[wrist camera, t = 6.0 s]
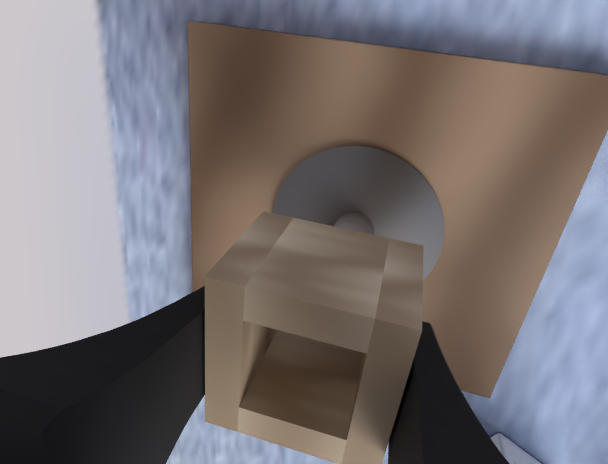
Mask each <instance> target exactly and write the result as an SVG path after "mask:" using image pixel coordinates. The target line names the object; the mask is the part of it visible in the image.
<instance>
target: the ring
mask: <svg viewBox="0 0 608 464" xmlns="http://www.w3.org/2000/svg"><path fill="white" fill-rule="evenodd" d="M422 308H423V245H419V244H414V243H410V242H405V241H400V240H396V239H391V238H386V237H381V236H377V235H372V234H367V233H363V232H358V231H353V230H348V229H344V228H339V227H334V226H330V225H325V224H320V223H316V222H311V221H306V220H301V219H297V218H292V217H287V216H283V215H278V214H273V213H269V212H264V211H263V212H262V213H261V214H260V215H259V217H258V218H257V219H256V220H255V221H254V222H253V223H252V224H251V225H250V227H249V228H248V229H247V230H246V231H245V232H244V233H243V234H242V235H241V237H240V238H239V239H238V240H237V241H236V242H235V243H234V244H233V246H232V247H231V248H230V249H229V250H228V251H227V252H226V253H225V254H224V256H223V257H222V258H221V259H220V260H219V261H218V262H217V263H216V264H215V266H214V267H213V268H212V269H211V270H210V271H209V272H208V273H207V274H206V276H205V422H208V423H212V424H215V425H218V426H221V427H224V428H227V429H231V430H234V431H237V432H240V433H243V434H246V435H249V436H253V437H256V438H259V439H262V440H265V441H268V442H272V443H275V444H278V445H281V446H284V447H287V448H290V449H294V450H297V451H300V452H303V453H306V454H309V455H313V456H316V457H319V458H322V459H325V460H328V461H331V462H335V463H338V464H382V461H383V458H384V454H385V451H386V448H387V444H388V441H389V438H390V435H391V431H392V428H393V425H394V421H395V418H396V415H397V412H398V408H399V405H400V402H401V398H402V395H403V392H404V389H405V385H406V382H407V379H408V375H409V372H410V369H411V366H412V362H413V359H414V356H415V352H416V349H417V346H418V343H419V339H420V336H421V333H422Z"/></svg>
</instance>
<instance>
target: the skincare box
mask: <svg viewBox="0 0 608 464" xmlns="http://www.w3.org/2000/svg"><path fill="white" fill-rule="evenodd" d="M491 440H492V441H493V443H494V444H495V445H496V447H497V448H498V450H499V451H500V452H501V454H502V455H503V456H504V457H505V459H506V460H507V461H508V462H509V463H510V464H541V463H540V462H539V461H537V460H536V459H535V458H533V457H532V456H531V455H529V454H528V453H526V452H525V451H524V450H522V449H521V448H520V447H518V446H517V445H516V444H514V443H513V442H512V441H510V440H509V439H508V438H506V437H505V436H503V435H502V434H500V433H497V434H496V435H494V436H492V437H491Z"/></svg>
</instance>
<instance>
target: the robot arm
mask: <svg viewBox="0 0 608 464" xmlns="http://www.w3.org/2000/svg"><path fill="white" fill-rule="evenodd" d="M204 395H205V286H203V287H201V288H200V289H198V290H196V291H194V292H192V293H191V294H189V295H187V296H185V297H183V298H181V299H180V300H178V301H176V302H174V303H172V304H170V305H168V306H166V307H164V308H162V309H160V310H158V311H156V312H154V313H151V314H149V315H147V316H145V317H143V318H141V319H138V320H136V321H133V322H131V323H128V324H126V325H123V326H121V327H118V328H116V329H113V330H110V331H107V332H104V333H101V334H97V335H94V336H91V337H88V338H85V339H82V340H79V341H75V342H72V343H68V344H64V345H60V346H56V347H52V348H48V349H43V350H39V351H35V352H29V353H24V354H19V355H13V356H7V357H2V358H0V464H166V462H167V460H168V458H169V456H170V454H171V452H172V450H173V448H174V446H175V444H176V442H177V440H178V438H179V436H180V435H181V433H182V431H183V429H184V427H185V425H186V424H187V422H188V420H189V418H190V417H191V415H192V413H193V412H194V410H195V409H196V407H197V406H198V404H199V403H200V401H201V400H202V398H203V397H204ZM388 464H510V463H509V462H508V461H507V460H506V459H505V457H504V456H503V455H502V454H501V452H500V451H499V450H498V448H497V447H496V445H495V444H494V443H493V441H492V440H491V438H490V437H489V436H488V434H487V433H486V431H485V430H484V428H483V427H482V425H481V424H480V422H479V421H478V419H477V417H476V416H475V414H474V412H473V411H472V409H471V408H470V406H469V404H468V402H467V401H466V399H465V397H464V395H463V394H462V392H461V390H460V388H459V386H458V384H457V382H456V380H455V378H454V376H453V374H452V372H451V370H450V368H449V366H448V364H447V362H446V360H445V357H444V355H443V353H442V350H441V348H440V346H439V343H438V341H437V338H436V336H435V333H434V330H433V327H432V326H431V324H430V323H428V322H424V321H422V333H421V336H420V339H419V343H418V346H417V349H416V352H415V356H414V359H413V362H412V366H411V369H410V372H409V375H408V379H407V382H406V385H405V389H404V392H403V395H402V398H401V402H400V405H399V408H398V412H397V415H396V418H395V421H394V425H393V428H392V431H391V435H390V438H389V451H388Z"/></svg>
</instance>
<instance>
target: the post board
mask: <svg viewBox="0 0 608 464" xmlns="http://www.w3.org/2000/svg"><path fill="white" fill-rule="evenodd" d="M188 66H189V117H190V168H191V219H192V270H193V292H194V291H196V290H198V289H200V288H201V287H203V286H205V276H206V274H207V273H208V272H209V271H210V270H211V269H212V268H213V267H214V266H215V264H216V263H217V262H218V261H219V260H220V259H221V258H222V257H223V256H224V254H225V253H226V252H227V251H228V250H229V249H230V248H231V247H232V246H233V244H234V243H235V242H236V241H237V240H238V239H239V238H240V237H241V235H242V234H243V233H244V232H245V231H246V230H247V229H248V228H249V227H250V225H251V224H252V223H253V222H254V221H255V220H256V219H257V218H258V217H259V215H260V214H261V213H262V212H263V211H264V212H269V213H273V214H278V215H283V216H287V217H292V218H297V219H301V220H306V221H311V222H316V223H320V224H325V225H330V226H334V227H339V228H344V229H348V230H353V231H358V232H363V233H367V234H372V235H377V236H381V237H386V238H391V239H396V240H400V241H405V242H410V243H414V244H419V245H423V308H422V321H424V322H428V323H430V324H431V326H432V327H433V330H434V333H435V336H436V338H437V341H438V343H439V346H440V348H441V350H442V353H443V355H444V357H445V360H446V362H447V364H448V366H449V368H450V370H451V372H452V374H453V376H454V378H455V380H456V382H457V384H458V386H459V388H460V390H462V391H465V392H469V393H473V394H476V395H480V396H484V397H488V398H490V396H491V394H492V391H493V389H494V387H495V384H496V382H497V380H498V378H499V375H500V373H501V371H502V369H503V366H504V364H505V362H506V359H507V357H508V355H509V353H510V350H511V348H512V346H513V344H514V341H515V339H516V337H517V334H518V332H519V330H520V328H521V325H522V323H523V321H524V319H525V316H526V314H527V312H528V310H529V307H530V305H531V303H532V300H533V298H534V296H535V294H536V291H537V289H538V287H539V285H540V282H541V280H542V278H543V275H544V273H545V271H546V269H547V266H548V264H549V262H550V260H551V257H552V255H553V253H554V250H555V248H556V246H557V244H558V241H559V239H560V237H561V235H562V232H563V230H564V228H565V225H566V223H567V221H568V219H569V216H570V214H571V212H572V210H573V207H574V205H575V203H576V201H577V198H578V196H579V194H580V191H581V189H582V187H583V185H584V182H585V180H586V178H587V176H588V173H589V171H590V169H591V166H592V164H593V162H594V160H595V157H596V155H597V153H598V151H599V148H600V146H601V144H602V141H603V139H604V137H605V135H606V132H607V130H608V74H601V73H593V72H585V71H578V70H570V69H562V68H554V67H547V66H539V65H531V64H523V63H516V62H508V61H500V60H492V59H485V58H477V57H469V56H462V55H454V54H446V53H438V52H431V51H423V50H415V49H407V48H400V47H392V46H384V45H376V44H369V43H361V42H353V41H345V40H338V39H330V38H322V37H314V36H307V35H299V34H291V33H283V32H276V31H268V30H260V29H252V28H245V27H237V26H229V25H221V24H214V23H206V22H194V21H188Z"/></svg>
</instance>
